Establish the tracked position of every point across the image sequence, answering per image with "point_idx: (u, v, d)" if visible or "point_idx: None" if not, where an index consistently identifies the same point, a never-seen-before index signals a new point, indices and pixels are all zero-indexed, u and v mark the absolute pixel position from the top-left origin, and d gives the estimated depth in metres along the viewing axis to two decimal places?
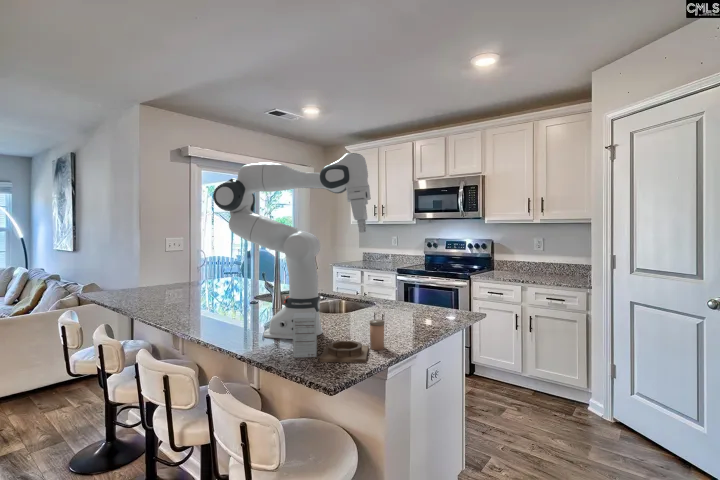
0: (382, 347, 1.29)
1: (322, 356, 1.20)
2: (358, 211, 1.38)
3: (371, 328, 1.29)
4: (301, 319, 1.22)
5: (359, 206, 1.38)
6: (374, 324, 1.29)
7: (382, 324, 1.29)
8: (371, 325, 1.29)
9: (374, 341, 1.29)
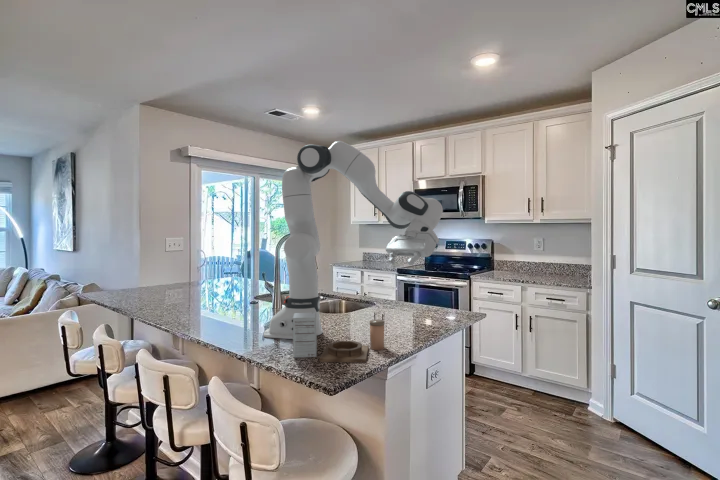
0: (382, 347, 1.29)
1: (322, 356, 1.20)
2: (430, 248, 1.34)
3: (371, 328, 1.29)
4: (301, 319, 1.22)
5: (433, 245, 1.35)
6: (374, 324, 1.28)
7: (382, 324, 1.29)
8: (371, 325, 1.29)
9: (374, 341, 1.29)
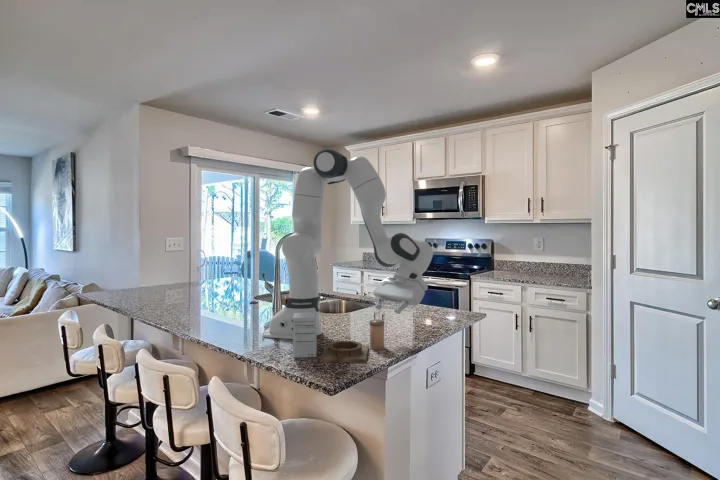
0: (382, 347, 1.29)
1: (322, 356, 1.20)
2: (418, 297, 1.30)
3: (371, 328, 1.29)
4: (301, 319, 1.22)
5: (421, 294, 1.31)
6: (374, 324, 1.29)
7: (382, 324, 1.29)
8: (371, 325, 1.29)
9: (373, 341, 1.29)
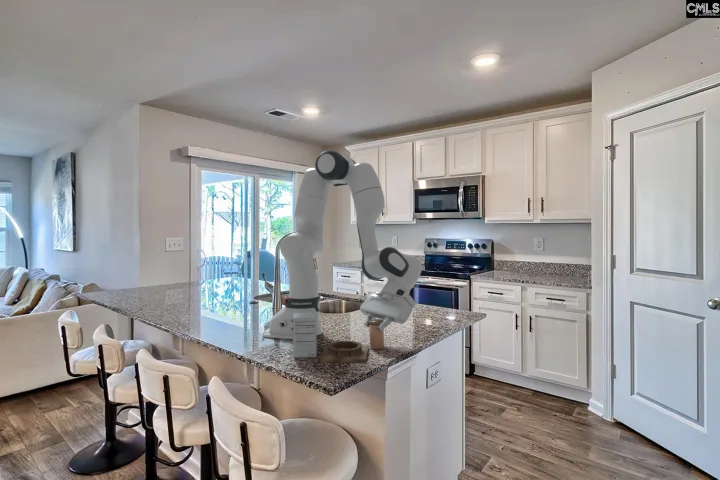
0: (382, 346, 1.29)
1: (322, 356, 1.20)
2: (405, 314, 1.26)
3: (370, 327, 1.30)
4: (301, 319, 1.22)
5: (408, 311, 1.27)
6: (373, 323, 1.29)
7: None
8: (370, 324, 1.30)
9: (373, 341, 1.29)
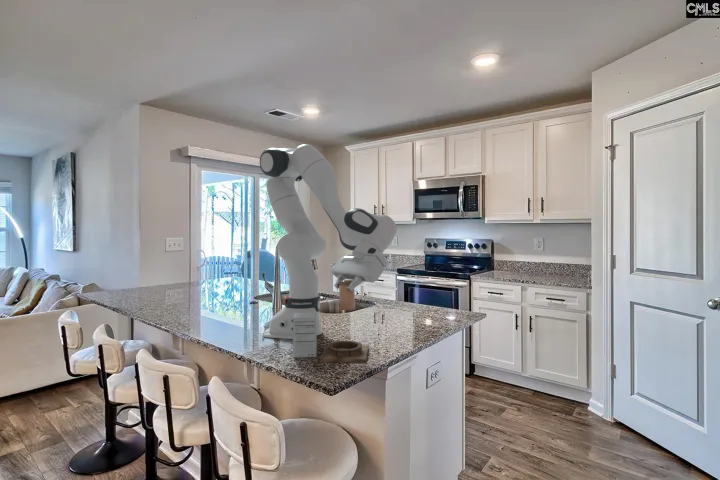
0: (352, 307, 1.22)
1: (322, 356, 1.20)
2: (376, 272, 1.19)
3: (340, 288, 1.23)
4: (301, 319, 1.22)
5: (379, 270, 1.20)
6: (343, 283, 1.22)
7: None
8: (340, 284, 1.23)
9: (343, 301, 1.22)
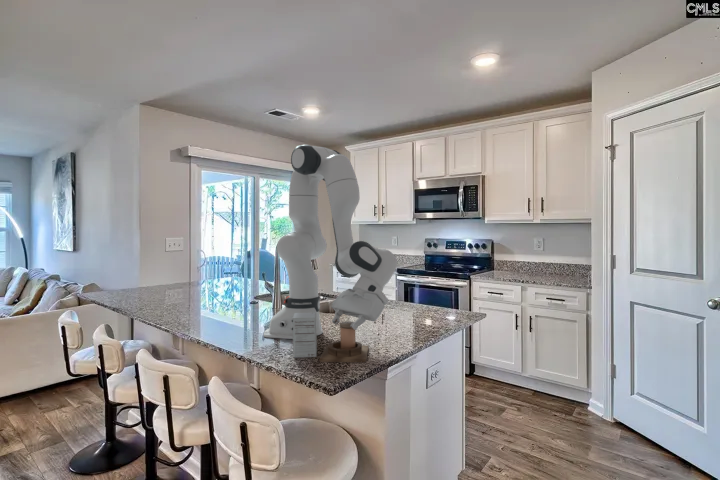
0: None
1: (322, 356, 1.20)
2: (376, 311, 1.19)
3: (341, 331, 1.23)
4: (301, 319, 1.22)
5: (380, 308, 1.20)
6: (344, 326, 1.22)
7: None
8: (341, 327, 1.23)
9: (344, 345, 1.22)
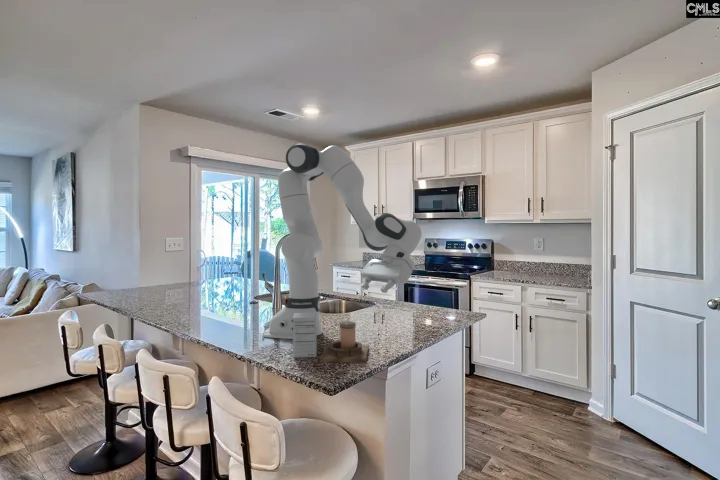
0: None
1: (322, 356, 1.20)
2: (405, 275, 1.27)
3: (341, 331, 1.23)
4: (301, 319, 1.22)
5: (408, 272, 1.28)
6: (344, 326, 1.22)
7: (353, 326, 1.22)
8: (341, 327, 1.23)
9: (344, 345, 1.22)
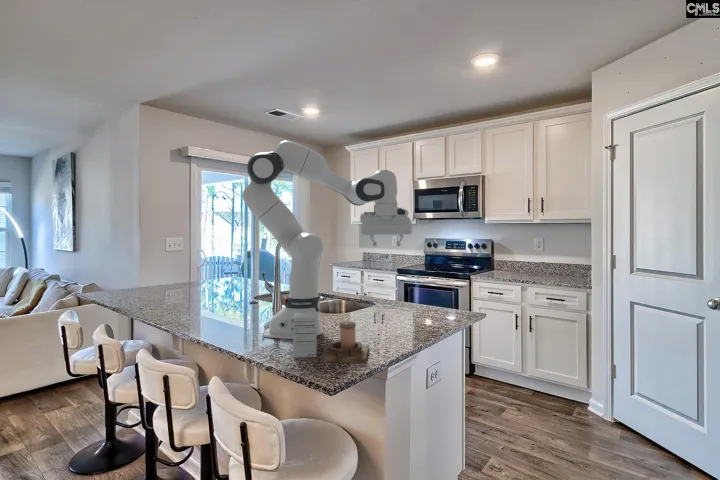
0: None
1: (322, 356, 1.20)
2: None
3: (341, 331, 1.23)
4: (301, 319, 1.22)
5: None
6: (344, 326, 1.22)
7: (353, 326, 1.22)
8: (341, 327, 1.23)
9: (344, 345, 1.22)
